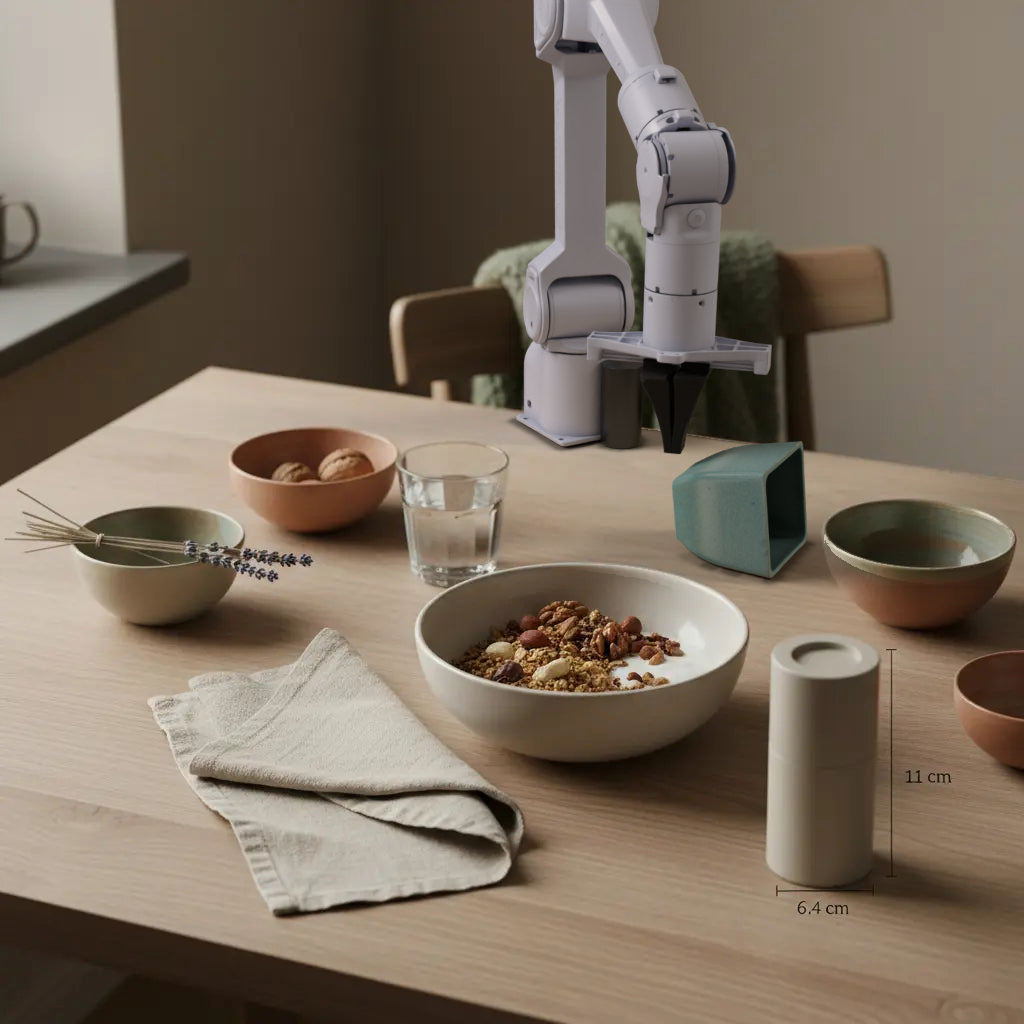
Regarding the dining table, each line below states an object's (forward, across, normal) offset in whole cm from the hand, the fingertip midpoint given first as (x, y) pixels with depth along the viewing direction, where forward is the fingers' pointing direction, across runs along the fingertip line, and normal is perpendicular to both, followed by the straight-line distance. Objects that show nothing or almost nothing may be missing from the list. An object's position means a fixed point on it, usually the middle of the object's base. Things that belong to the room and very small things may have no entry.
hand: (674, 449), depth 124 cm
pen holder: (+8, -9, +21) cm, 24 cm away
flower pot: (+4, +1, -1) cm, 4 cm away
